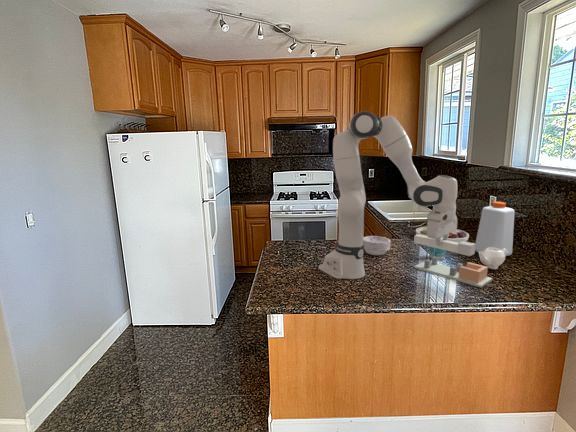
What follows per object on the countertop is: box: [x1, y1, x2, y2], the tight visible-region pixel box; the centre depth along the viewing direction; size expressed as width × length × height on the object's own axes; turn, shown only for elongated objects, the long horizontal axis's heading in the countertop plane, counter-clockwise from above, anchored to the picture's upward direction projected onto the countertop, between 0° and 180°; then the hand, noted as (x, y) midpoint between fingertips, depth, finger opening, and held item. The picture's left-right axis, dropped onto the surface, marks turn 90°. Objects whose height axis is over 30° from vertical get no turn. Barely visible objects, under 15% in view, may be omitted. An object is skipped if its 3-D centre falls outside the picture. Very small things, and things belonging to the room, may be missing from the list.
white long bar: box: [413, 234, 476, 257], centre depth 148 cm, size 25×4×4 cm, turn 40°
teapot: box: [478, 247, 508, 270], centre depth 163 cm, size 10×20×9 cm, turn 112°
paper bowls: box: [363, 235, 391, 256], centre depth 186 cm, size 15×15×8 cm
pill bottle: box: [428, 236, 446, 261], centre depth 176 cm, size 8×7×14 cm
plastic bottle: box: [474, 201, 515, 257], centre depth 183 cm, size 15×15×28 cm
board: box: [414, 257, 493, 289], centre depth 156 cm, size 30×12×6 cm, turn 41°
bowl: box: [415, 225, 470, 243], centre depth 211 cm, size 30×30×8 cm
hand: (441, 244), depth 149 cm, fingers closed on white long bar, 3 cm apart
